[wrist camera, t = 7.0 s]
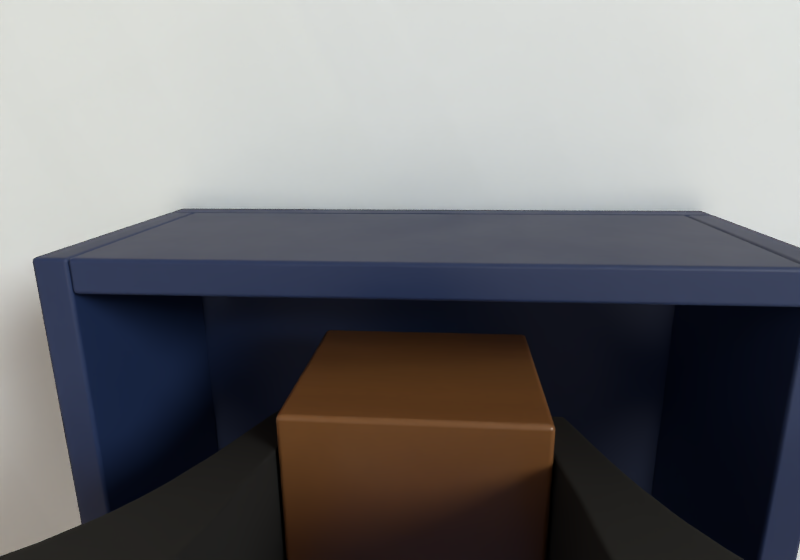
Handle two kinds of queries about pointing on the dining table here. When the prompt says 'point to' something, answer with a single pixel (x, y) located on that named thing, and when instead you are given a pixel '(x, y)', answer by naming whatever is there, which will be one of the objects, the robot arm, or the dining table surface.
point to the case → (443, 313)
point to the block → (416, 449)
